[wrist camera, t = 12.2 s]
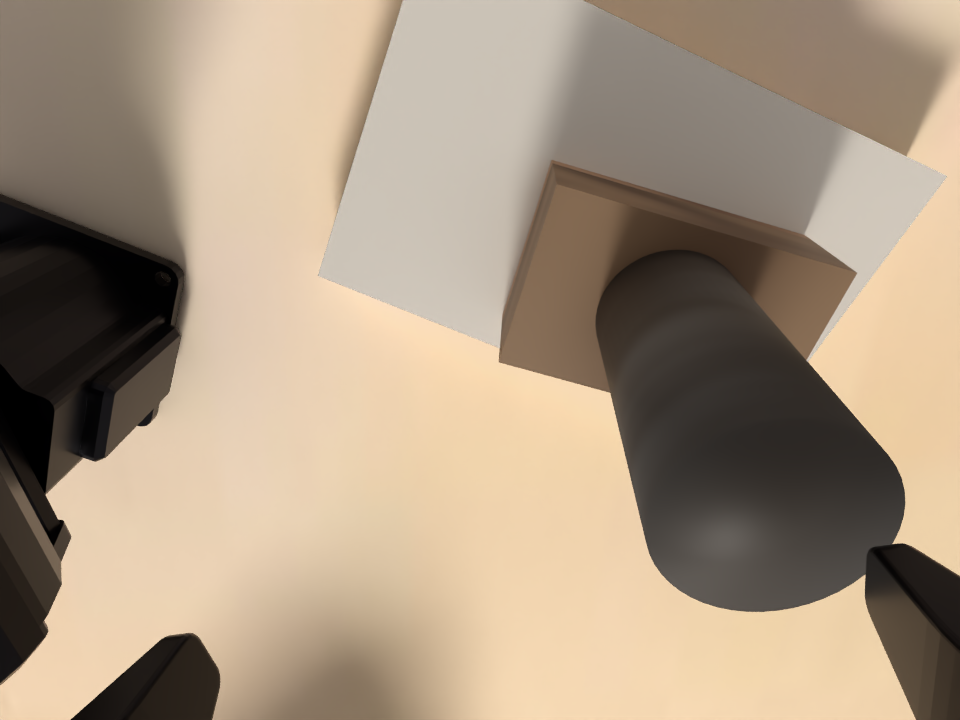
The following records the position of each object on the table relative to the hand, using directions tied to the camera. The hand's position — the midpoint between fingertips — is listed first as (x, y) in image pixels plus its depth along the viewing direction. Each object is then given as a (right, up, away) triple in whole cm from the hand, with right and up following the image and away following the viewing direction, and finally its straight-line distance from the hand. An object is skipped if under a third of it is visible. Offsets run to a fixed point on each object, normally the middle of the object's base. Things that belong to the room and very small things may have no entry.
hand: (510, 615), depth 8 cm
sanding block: (+4, +6, +9) cm, 12 cm away
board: (+3, +8, +10) cm, 13 cm away
